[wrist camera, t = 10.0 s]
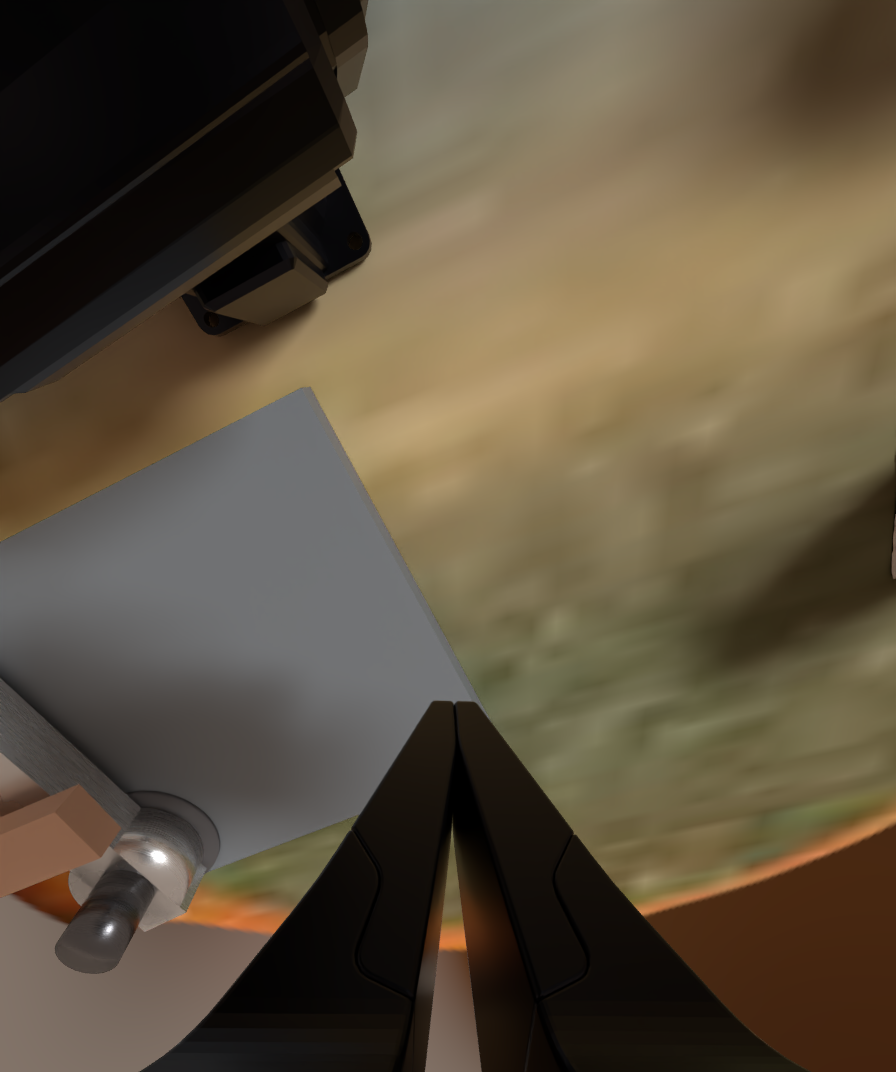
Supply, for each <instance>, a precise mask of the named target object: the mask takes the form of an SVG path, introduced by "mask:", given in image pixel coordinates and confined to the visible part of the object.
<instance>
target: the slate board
mask: <svg viewBox="0 0 896 1072" xmlns="http://www.w3.org/2000/svg"><path fill="white" fill-rule="evenodd" d="M0 678H1V679H2V680H3V681H4V682H5V683H6V684H7V685H8V686H10V687H11V688H12V689H13V690H14V691H15V692H16V693H17V694H18V695H19V696H20V697H21V698H23V699H24V700H25V701H26V702H27V703H28V704H29V705H30V706H31V707H32V708H33V709H34V710H36V711H37V712H38V713H39V714H40V715H41V716H42V717H43V718H44V719H45V720H46V721H47V722H49V723H50V724H51V725H52V726H53V727H54V728H55V729H56V730H57V731H58V732H59V733H61V734H62V735H63V736H64V737H65V738H66V739H67V740H68V741H69V742H70V743H71V744H72V745H74V746H75V747H76V748H77V749H78V750H79V751H80V752H81V753H82V754H83V755H84V756H85V757H87V758H88V759H89V760H90V761H91V762H92V763H93V764H94V765H95V766H96V767H97V768H98V769H100V770H101V771H102V772H103V773H104V774H105V775H106V776H107V777H108V778H109V779H110V780H111V781H113V782H114V783H115V784H116V785H117V786H118V787H119V788H120V789H121V790H122V791H123V792H125V793H126V794H127V795H128V796H129V797H130V798H131V799H132V800H133V801H134V802H135V803H136V804H138V805H139V806H140V807H141V808H152V809H158V810H162V811H166V812H169V813H171V814H174V815H176V816H178V817H180V818H182V819H183V820H185V821H186V822H187V823H189V824H190V825H191V826H192V827H193V828H194V829H195V830H196V831H197V833H198V834H199V836H200V838H201V840H202V842H203V846H204V856H203V859H202V862H201V863H202V864H203V865H204V866H205V867H206V871H205V873H207V872H209V871H211V870H214V869H217V868H219V867H222V866H225V865H227V864H230V863H232V862H235V861H238V860H240V859H243V858H246V857H248V856H251V855H254V854H256V853H259V852H261V851H264V850H267V849H269V848H272V847H275V846H277V845H280V844H282V843H285V842H288V841H290V840H293V839H296V838H298V837H301V836H303V835H306V834H309V833H311V832H314V831H317V830H319V829H322V828H325V827H327V826H330V825H332V824H335V823H338V822H340V821H343V820H346V819H348V818H351V817H353V816H356V815H359V814H360V813H361V812H362V810H363V809H364V807H365V806H366V804H367V802H368V801H369V799H370V798H371V796H372V795H373V793H374V791H375V790H376V788H377V787H378V785H379V784H380V782H381V780H382V779H383V777H384V776H385V774H386V773H387V771H388V769H389V768H390V766H391V765H392V763H393V762H394V760H395V758H396V757H397V755H398V754H399V752H400V751H401V749H402V747H403V746H404V744H405V743H406V741H407V740H408V738H409V736H410V735H411V733H412V732H413V730H414V729H415V727H416V725H417V724H418V722H419V721H420V719H421V718H422V716H423V714H424V713H425V711H426V710H427V708H428V707H429V705H430V704H431V702H432V701H435V700H439V701H452V702H453V703H454V704H455V702H456V701H473V702H476V703H477V704H478V705H479V707H480V708H481V709H482V711H483V712H484V713H485V715H486V716H487V717H488V715H487V713H486V711H485V710H484V708H483V706H482V704H481V702H480V700H479V699H478V697H477V695H476V693H475V691H474V689H473V687H472V686H471V684H470V682H469V680H468V678H467V676H466V674H465V673H464V671H463V669H462V667H461V665H460V663H459V662H458V660H457V658H456V656H455V654H454V652H453V650H452V649H451V647H450V645H449V643H448V641H447V639H446V637H445V636H444V634H443V632H442V630H441V628H440V626H439V625H438V623H437V621H436V619H435V617H434V615H433V613H432V612H431V610H430V608H429V606H428V604H427V602H426V600H425V599H424V597H423V595H422V593H421V591H420V589H419V587H418V586H417V584H416V582H415V580H414V578H413V576H412V575H411V573H410V571H409V569H408V567H407V565H406V563H405V562H404V560H403V558H402V556H401V554H400V552H399V550H398V549H397V547H396V545H395V543H394V541H393V539H392V538H391V536H390V534H389V532H388V530H387V528H386V526H385V525H384V523H383V521H382V519H381V517H380V515H379V513H378V512H377V510H376V508H375V506H374V504H373V502H372V500H371V499H370V497H369V495H368V493H367V491H366V489H365V488H364V486H363V484H362V482H361V480H360V478H359V476H358V475H357V473H356V471H355V469H354V467H353V465H352V463H351V462H350V460H349V458H348V456H347V454H346V452H345V451H344V449H343V447H342V445H341V443H340V441H339V439H338V438H337V436H336V434H335V432H334V430H333V428H332V426H331V425H330V423H329V421H328V419H327V417H326V415H325V414H324V412H323V410H322V408H321V406H320V404H319V402H318V401H317V399H316V397H315V395H314V393H313V391H312V389H311V388H310V387H305V388H300V389H298V390H296V391H294V392H292V393H290V394H288V395H287V396H285V397H283V398H281V399H279V400H277V401H275V402H273V403H271V404H269V405H267V406H265V407H263V408H261V409H259V410H257V411H255V412H253V413H251V414H249V415H247V416H245V417H244V418H242V419H240V420H238V421H236V422H234V423H232V424H230V425H228V426H226V427H224V428H222V429H220V430H218V431H216V432H214V433H212V434H210V435H208V436H206V437H204V438H203V439H201V440H199V441H197V442H195V443H193V444H191V445H189V446H187V447H185V448H183V449H181V450H179V451H177V452H175V453H173V454H171V455H169V456H167V457H165V458H163V459H161V460H160V461H158V462H156V463H154V464H152V465H150V466H148V467H146V468H144V469H142V470H140V471H138V472H136V473H134V474H132V475H130V476H128V477H126V478H124V479H122V480H120V481H119V482H117V483H115V484H113V485H111V486H109V487H107V488H105V489H103V490H101V491H99V492H97V493H95V494H93V495H91V496H89V497H87V498H85V499H83V500H81V501H79V502H77V503H76V504H74V505H72V506H70V507H68V508H66V509H64V510H62V511H60V512H58V513H56V514H54V515H52V516H50V517H48V518H46V519H44V520H42V521H40V522H38V523H36V524H35V525H33V526H31V527H29V528H27V529H25V530H23V531H21V532H19V533H17V534H15V535H13V536H11V537H9V538H7V539H5V540H3V541H1V542H0ZM488 719H489V717H488ZM489 720H490V719H489ZM205 873H204V874H205Z"/></svg>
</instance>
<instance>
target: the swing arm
mask: <svg viewBox="0 0 896 1072" xmlns="http://www.w3.org/2000/svg"><path fill="white" fill-rule="evenodd" d="M78 784H80V785H81V786H82V787H83V788H84V789H85V791H86V792H87V793H88V794H89V795H90V796H91V797H92V798H93V799H94V800H95V801H96V802H97V803H98V804H99V805H100V806H101V807H102V808H103V809H104V810H105V811H106V812H107V813H108V815H109V816H110V817H111V818H112V819H113V820H114V821H115V822H116V823H117V824H118V825H119V826H120V827H121V830H120V831H119V833H118V834H117V835H116V837H115V838H114V840H113V841H112V843H111V844H110V846H109V847H108V848H107V850H106V851H105V853H104V854H103V856H102V857H101V858H100V859H97V860H95V861H92V862H90V863H87V864H85V865H82V866H79V867H77V868H74V869H72V870H69V871H70V874H69V879H68V883H69V888H70V892H71V894H72V896H73V897H74V899H75V900H76V902H77V903H78V904H79V905H80V906H81V907H80V909H79V910H78V912H77V913H76V915H75V916H74V918H73V919H72V921H71V922H70V924H69V925H68V927H67V928H66V930H65V931H64V933H63V934H62V936H61V937H60V939H59V940H58V942H57V944H56V946H55V953H56V955H57V957H58V959H59V960H60V961H61V962H62V963H63V964H64V965H66V966H67V967H69V968H71V969H74V970H76V971H79V972H83V973H91V974H97V973H104V972H107V971H110V970H112V969H113V968H115V967H116V966H117V964H118V963H119V961H120V959H121V957H122V955H123V953H124V951H125V950H126V948H127V946H128V944H129V942H130V940H131V939H132V937H133V935H134V933H135V931H136V929H137V928H138V927H139V928H141V929H142V930H143V931H144V932H146V931H147V930H150V929H152V928H154V927H156V926H159V925H161V924H163V923H165V922H167V921H169V920H171V919H173V918H176V917H178V916H180V915H182V914H184V913H186V912H187V909H188V907H189V905H190V903H191V901H192V899H193V896H194V894H195V892H196V890H197V888H198V886H199V884H200V881H201V879H202V877H203V875H204V873H205V871H206V867H205V866H204V865H203V864H202V863H201V862H202V859H203V856H204V846H203V842H202V840H201V838H200V836H199V834H198V833H197V831H196V830H195V829H194V828H193V827H192V826H191V825H190V824H189V823H187V822H186V821H185V820H183V819H182V818H180V817H178V816H176V815H174V814H171V813H169V812H166V811H162V810H158V809H152V808H141V807H140V806H139V805H138V804H136V803H135V802H134V801H133V800H132V799H131V798H130V797H129V796H128V795H127V794H126V793H125V792H123V791H122V790H121V789H120V788H119V787H118V786H117V785H116V784H115V783H114V782H113V781H111V780H110V779H109V778H108V777H107V776H106V775H105V774H104V773H103V772H102V771H101V770H100V769H98V768H97V767H96V766H95V765H94V764H93V763H92V762H91V761H90V760H89V759H88V758H87V757H85V756H84V755H83V754H82V753H81V752H80V751H79V750H78V749H77V748H76V747H75V746H74V745H72V744H71V743H70V742H69V741H68V740H67V739H66V738H65V737H64V736H63V735H62V734H61V733H59V732H58V731H57V730H56V729H55V728H54V727H53V726H52V725H51V724H50V723H49V722H47V721H46V720H45V719H44V718H43V717H42V716H41V715H40V714H39V713H38V712H37V711H36V710H34V709H33V708H32V707H31V706H30V705H29V704H28V703H27V702H26V701H25V700H24V699H23V698H21V697H20V696H19V695H18V694H17V693H16V692H15V691H14V690H13V689H12V688H11V687H10V686H8V685H7V684H6V683H5V682H4V681H3V680H2V679H1V678H0V814H1V815H2V816H5V815H7V814H9V813H12V812H14V811H17V810H19V809H21V808H24V807H26V806H28V805H31V804H33V803H35V802H38V801H40V800H43V799H45V798H47V797H50V796H52V795H54V794H57V793H59V792H61V791H64V790H66V789H68V788H71V787H73V786H76V785H78Z"/></svg>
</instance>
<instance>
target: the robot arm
mask: <svg viewBox="0 0 896 1072" xmlns="http://www.w3.org/2000/svg"><path fill="white" fill-rule="evenodd" d="M367 5H368V0H0V402H2V401H4V400H5V399H7V398H8V397H9V396H11V395H12V394H14V393H26V392H28V391H31V390H34V389H36V388H39V387H42V386H44V385H47V384H50V383H52V382H55V381H58V380H59V379H61V378H62V377H64V376H65V375H67V374H68V373H69V372H71V371H72V370H74V369H75V368H77V367H78V366H80V365H81V364H83V363H84V362H85V361H87V360H88V359H90V358H91V357H93V356H94V355H96V354H97V353H99V352H100V351H102V350H103V349H104V348H106V347H107V346H109V345H110V344H112V343H113V342H115V341H116V340H118V339H119V338H120V337H122V336H123V335H125V334H126V333H128V332H129V331H131V330H132V329H134V328H135V327H136V326H138V325H139V324H141V323H142V322H144V321H145V320H147V319H148V318H150V317H151V316H152V315H154V314H155V313H157V312H158V311H160V310H161V309H163V308H164V307H166V306H167V305H169V304H170V303H171V302H173V301H174V300H176V299H177V298H179V297H180V296H181V297H182V298H183V300H184V302H185V303H186V305H187V307H188V308H189V310H190V312H191V313H192V315H193V317H194V319H195V320H196V322H197V324H198V325H199V327H200V328H201V329H202V330H203V331H204V332H206V333H207V334H209V335H215V336H222V335H225V334H227V333H229V332H231V331H233V330H235V329H236V328H238V327H240V326H242V325H244V324H246V323H248V322H251V323H255V324H258V325H262V326H265V325H267V324H269V323H271V322H273V321H275V320H277V319H278V318H280V317H282V316H284V315H286V314H288V313H290V312H291V311H293V310H295V309H297V308H299V307H301V306H303V305H305V304H306V303H308V302H310V301H312V300H314V299H316V298H318V297H319V296H321V295H323V294H325V293H326V290H327V287H328V282H327V279H329V278H331V277H333V276H335V275H336V274H338V273H340V272H342V271H344V270H346V269H348V268H349V267H351V266H353V265H355V264H357V263H359V262H361V261H362V260H364V259H365V258H366V257H368V255H369V253H370V251H371V245H372V243H371V239H370V236H369V234H368V232H367V229H366V227H365V225H364V223H363V221H362V218H361V216H360V214H359V212H358V209H357V207H356V205H355V203H354V201H353V198H352V196H351V194H350V192H349V190H348V187H347V185H346V183H345V181H344V179H343V176H342V174H341V172H340V170H339V167H341V166H342V165H344V164H345V163H347V162H348V161H350V160H351V159H352V158H353V155H354V149H355V142H356V136H357V130H356V127H355V124H354V122H353V119H352V116H351V114H350V111H349V108H348V106H347V103H346V101H345V98H344V97H346V96H347V95H349V94H350V93H351V92H353V91H354V90H356V89H357V87H358V83H359V79H360V75H361V71H362V68H363V64H364V60H365V56H366V52H367V48H368V33H367V28H366V24H365V16H366V10H367ZM356 235H357V236H360V237H361V238H362V241H363V243H362V246H361V247H360V248H359V249H358V250H353V249H350V247H349V241H350V238H351V237H352V236H356ZM212 313H216V314H217V315H218V318H219V324H218V325H217V326H216V327H213V326H212V325H211V324H210V321H209V317H210V315H211V314H212ZM452 823H453V838H454V847H455V856H456V864H457V872H458V880H459V889H460V897H461V905H462V913H463V922H464V930H465V938H466V946H467V955H468V963H469V971H470V979H471V988H472V996H473V1004H474V1011H475V1020H476V1029H477V1037H478V1045H479V1053H480V1062H481V1070H482V1072H810V1071H808V1070H807V1069H805V1068H803V1067H801V1066H799V1065H798V1064H796V1063H794V1062H793V1061H791V1060H789V1059H787V1058H786V1057H784V1056H783V1055H781V1054H780V1053H779V1052H777V1051H776V1050H774V1049H773V1048H772V1047H770V1046H769V1045H768V1044H766V1043H765V1042H764V1041H763V1040H761V1039H760V1038H759V1037H758V1036H757V1035H755V1034H754V1033H753V1032H752V1031H751V1030H749V1028H748V1027H746V1026H745V1025H744V1024H743V1023H742V1022H741V1021H740V1020H739V1019H738V1018H737V1017H736V1016H735V1015H734V1014H733V1013H732V1012H731V1011H730V1010H729V1009H728V1008H727V1007H726V1006H725V1005H724V1004H723V1003H722V1002H721V1001H720V1000H719V999H718V998H717V996H716V995H715V994H714V993H713V992H712V991H711V990H710V989H709V988H708V987H707V985H706V984H705V983H704V982H703V981H702V980H701V979H700V978H699V977H698V976H697V975H696V974H695V972H694V971H693V970H692V969H691V968H690V967H689V966H688V965H687V964H686V963H685V962H684V961H683V959H682V958H681V957H680V956H679V955H678V954H677V953H676V952H675V951H674V950H673V949H672V947H671V946H670V945H669V944H668V943H667V942H666V941H665V940H664V939H663V938H662V937H661V935H660V934H659V933H658V932H657V931H656V930H655V929H654V928H653V927H652V926H651V925H650V923H649V922H648V921H647V920H646V919H645V918H644V917H643V916H642V915H641V913H640V912H639V911H638V910H637V909H636V908H635V907H634V905H633V904H632V903H631V902H630V901H629V900H628V899H627V897H626V896H625V895H624V894H623V893H622V892H621V891H620V890H619V888H618V887H617V886H616V885H615V884H614V883H613V881H612V880H611V879H610V878H609V876H608V875H607V874H606V873H605V871H604V870H603V869H602V868H601V866H600V865H599V864H598V863H597V861H596V860H595V859H594V858H593V856H592V855H591V854H590V852H589V851H588V850H587V848H586V847H585V846H584V844H583V843H582V842H581V840H580V839H579V838H578V836H577V835H573V834H574V832H573V830H572V829H571V827H570V826H569V825H568V823H567V822H566V821H565V819H564V818H563V817H562V815H561V814H560V813H559V811H558V810H557V809H556V808H555V806H554V805H553V804H552V802H551V801H550V800H549V798H548V797H547V796H546V794H545V793H544V792H543V790H542V789H541V788H540V786H539V785H538V784H537V782H536V781H535V780H534V778H533V777H532V776H531V774H530V773H529V772H528V770H527V769H526V768H525V766H524V765H523V764H522V762H521V761H520V760H519V758H518V757H517V756H516V754H515V753H514V752H513V750H512V749H511V748H510V746H509V745H508V744H507V742H506V741H505V740H504V739H503V737H502V736H501V735H500V733H499V732H498V731H497V729H496V728H495V727H494V725H493V724H492V723H491V721H490V720H489V719H488V717H487V716H486V715H485V713H484V712H483V711H482V709H481V708H480V707H479V705H478V704H477V703H476V702H473V701H456V702H455V704H454V703H453V702H452V701H439V700H435V701H432V702H431V704H430V705H429V707H428V708H427V710H426V711H425V713H424V714H423V716H422V718H421V719H420V721H419V722H418V724H417V725H416V727H415V729H414V730H413V732H412V733H411V735H410V736H409V738H408V740H407V741H406V743H405V744H404V746H403V747H402V749H401V751H400V752H399V754H398V755H397V757H396V758H395V760H394V762H393V763H392V765H391V766H390V768H389V769H388V771H387V773H386V774H385V776H384V777H383V779H382V780H381V782H380V784H379V785H378V787H377V788H376V790H375V791H374V793H373V795H372V796H371V798H370V799H369V801H368V802H367V804H366V806H365V807H364V809H363V810H362V812H361V813H360V815H359V817H358V818H357V820H356V821H355V823H354V824H353V826H352V828H351V831H349V832H348V833H347V835H346V837H345V838H344V840H343V841H342V843H341V844H340V846H339V848H338V849H337V851H336V852H335V854H334V855H333V856H332V858H331V859H330V861H329V862H328V864H327V865H326V867H325V868H324V870H323V871H322V873H321V874H320V875H319V877H318V878H317V880H316V881H315V882H314V884H313V885H312V886H311V888H310V889H309V890H308V891H307V893H306V894H305V895H304V897H303V898H302V899H301V901H300V902H299V903H298V904H297V906H296V907H295V908H294V910H293V911H292V912H291V913H290V915H289V916H288V917H287V918H286V920H285V921H284V922H283V923H282V924H281V926H280V927H279V928H278V929H277V931H276V932H275V933H274V934H273V936H272V937H271V938H270V939H269V940H268V942H267V943H266V944H265V945H264V947H263V948H262V949H261V950H260V952H259V953H258V954H257V955H256V956H255V958H254V959H253V960H252V961H251V963H250V964H249V965H248V966H247V968H246V969H245V970H244V971H243V972H242V974H241V975H240V976H239V978H238V979H237V980H236V981H235V983H234V984H233V985H232V986H231V988H230V989H229V990H228V991H227V992H226V993H225V995H224V996H223V997H222V998H221V999H220V1001H219V1002H218V1003H217V1004H216V1006H215V1007H214V1008H213V1009H212V1010H211V1011H210V1013H209V1014H208V1015H207V1016H206V1017H205V1018H204V1019H203V1020H202V1021H201V1022H200V1023H199V1024H198V1025H197V1026H196V1028H195V1029H193V1030H192V1031H191V1032H190V1033H189V1034H188V1035H187V1036H186V1037H185V1038H184V1039H183V1040H182V1041H181V1042H180V1043H178V1044H177V1045H176V1046H175V1047H174V1048H172V1049H171V1050H170V1051H169V1052H168V1053H166V1054H165V1055H164V1056H162V1057H161V1058H159V1059H158V1060H157V1061H155V1062H154V1063H152V1064H151V1065H149V1066H148V1067H146V1068H145V1069H143V1070H142V1071H140V1072H425V1067H426V1058H427V1048H428V1040H429V1030H430V1021H431V1013H432V1004H433V995H434V986H435V977H436V967H437V959H438V950H439V941H440V932H441V923H442V914H443V905H444V896H445V887H446V878H447V869H448V860H449V851H450V842H451V830H452Z"/></svg>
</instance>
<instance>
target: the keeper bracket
mask: <svg viewBox="0 0 896 1072" xmlns="http://www.w3.org/2000/svg"><path fill="white" fill-rule="evenodd" d="M120 830H121V827H120V826H119V825H118V824H117V823H116V822H115V821H114V820H113V819H112V818H111V817H110V816H109V815H108V813H107V812H106V811H105V810H104V809H103V808H102V807H101V806H100V805H99V804H98V803H97V802H96V801H95V800H94V799H93V798H92V797H91V796H90V795H89V794H88V793H87V792H86V791H85V789H84V788H83V787H82V786H81V785H80V784H78V785H76V786H73V787H71V788H68V789H66V790H64V791H61V792H59V793H57V794H54V795H52V796H50V797H47V798H45V799H43V800H40V801H38V802H35V803H33V804H31V805H28V806H26V807H24V808H21V809H19V810H17V811H14V812H12V813H9V814H7V815H5V816H2V815H1V814H0V898H1V897H4V896H6V895H9V894H12V893H14V892H17V891H19V890H22V889H24V888H27V887H29V886H32V885H34V884H37V883H39V882H42V881H44V880H47V879H49V878H52V877H54V876H57V875H59V874H62V873H64V872H67V871H69V870H72V869H74V868H77V867H79V866H82V865H85V864H87V863H90V862H92V861H95V860H97V859H100V858H101V857H102V856H103V854H104V853H105V851H106V850H107V848H108V847H109V846H110V844H111V843H112V841H113V840H114V838H115V837H116V835H117V834H118V833H119V831H120Z"/></svg>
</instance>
